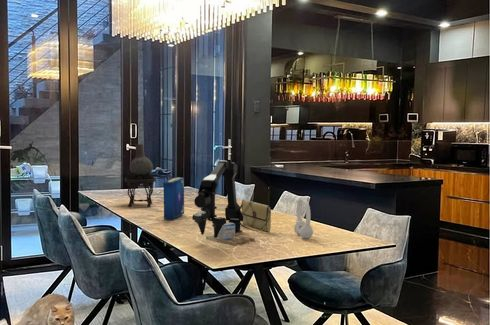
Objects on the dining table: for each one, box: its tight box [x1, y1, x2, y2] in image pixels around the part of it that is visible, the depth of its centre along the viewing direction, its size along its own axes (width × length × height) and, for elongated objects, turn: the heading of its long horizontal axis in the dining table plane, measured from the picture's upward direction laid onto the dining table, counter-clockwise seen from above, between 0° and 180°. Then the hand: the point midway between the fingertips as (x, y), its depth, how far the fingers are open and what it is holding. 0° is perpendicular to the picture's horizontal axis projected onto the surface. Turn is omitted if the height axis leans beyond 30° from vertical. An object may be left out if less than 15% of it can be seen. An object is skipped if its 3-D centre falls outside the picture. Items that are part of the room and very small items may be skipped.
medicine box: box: [218, 222, 236, 241], centre depth 242 cm, size 8×4×9 cm, turn 137°
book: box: [162, 176, 185, 221], centre depth 303 cm, size 22×7×25 cm, turn 168°
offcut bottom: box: [231, 240, 250, 245], centre depth 236 cm, size 7×5×2 cm
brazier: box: [124, 143, 157, 208], centre depth 349 cm, size 22×22×45 cm
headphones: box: [293, 198, 314, 240], centre depth 252 cm, size 7×18×20 cm, turn 9°
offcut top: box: [231, 234, 250, 243], centre depth 236 cm, size 7×5×2 cm
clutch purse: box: [239, 199, 272, 233], centre depth 272 cm, size 30×7×15 cm, turn 32°
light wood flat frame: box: [205, 233, 256, 247], centre depth 241 cm, size 14×21×2 cm, turn 47°
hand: (209, 236), depth 232 cm, fingers open, 9 cm apart
